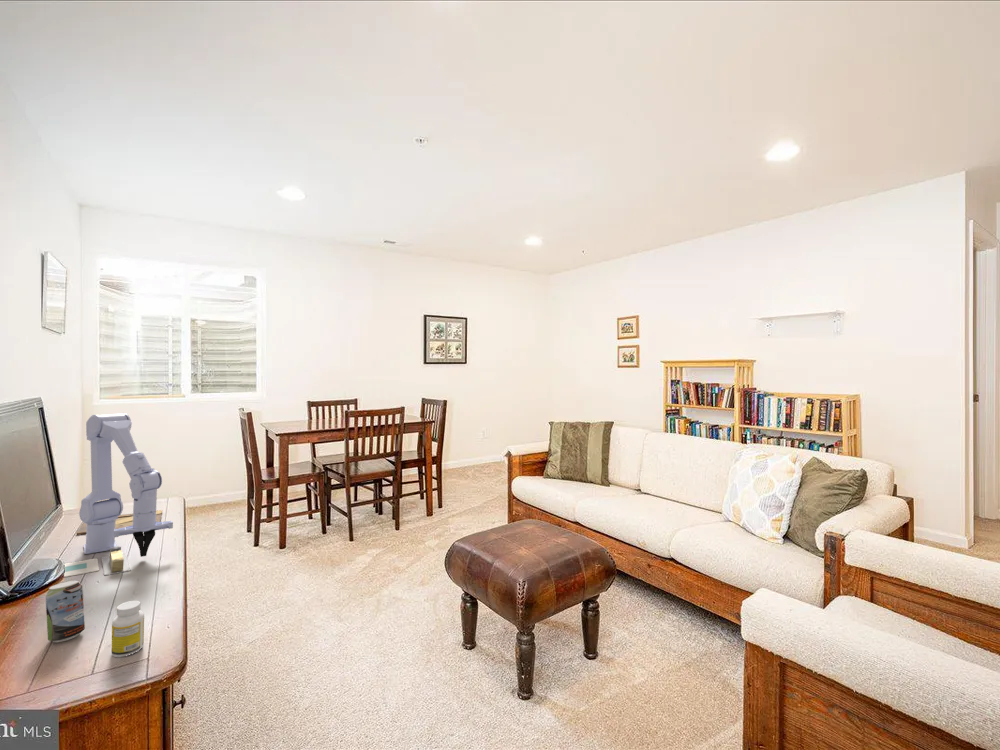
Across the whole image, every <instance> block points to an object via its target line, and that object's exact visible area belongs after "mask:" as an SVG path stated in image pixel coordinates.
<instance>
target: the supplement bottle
mask: <svg viewBox="0 0 1000 750" xmlns="http://www.w3.org/2000/svg"><path fill="white" fill-rule="evenodd" d="M115 613H116V616H115V617H114V618H113V619H112V623H111V655H112V656H113V657H114V656H115V658H121V657H120V656H126V655H129V654H132V653H135V652H136V651H138V652H140V651H141V650H142V649H143V647H144V644H145V643H144V641H145V638H144V637H145V636H144V635H145V613H144V612H143V611H142V610H141V601H139V600H129V601H124V602H123V603H121V604H119V605H117V607H116V612H115ZM141 648H142V649H141ZM140 649H141V650H140ZM139 650H140V651H139ZM135 654H136V653H135ZM132 655H133V654H132ZM126 657H127V656H126Z"/></svg>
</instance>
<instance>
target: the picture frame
mask: <svg viewBox="0 0 1000 750" xmlns="http://www.w3.org/2000/svg"><path fill="white" fill-rule="evenodd" d="M161 516H163V509H160V510H159V509H158V510H157V509H156V522H162V517H161ZM132 525H133V513H126V514H125V513H124V514H121V515H120V516H118V519H116V520H115V529H119V528H124V527H128V526H132ZM86 529H87V524H86V523H84V522H83V521H82V524H81V525H80V526H79V529H78V530H77V531H76V536H83V535H86Z"/></svg>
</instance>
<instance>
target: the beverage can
mask: <svg viewBox="0 0 1000 750" xmlns="http://www.w3.org/2000/svg"><path fill="white" fill-rule="evenodd" d="M83 590H84V586H83V585H82V584H81V583H80V581H79V580H77V579H72V580H68V581H63V582H59V583H56V584H54V585H52V586H49V587H48V590H47V592H46V594H45V609H46V627H47V628H46V629H47V630H46V632H47V640H48V641H49V642H52V643H61V642H65V641H69V640H71V639H74V638H76V637H78V636H79V635H81V633H83V631H84V630H85V628H86V625H85V622H86V621H85V609H84V591H83Z"/></svg>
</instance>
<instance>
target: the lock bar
mask: <svg viewBox="0 0 1000 750" xmlns="http://www.w3.org/2000/svg"><path fill="white" fill-rule="evenodd" d="M122 554H123V551H122V549H121V550H120V551H114V552H111V557H110V563H111V569H112V572H116V571H121V570H123V563H124V559H123V555H122Z"/></svg>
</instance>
